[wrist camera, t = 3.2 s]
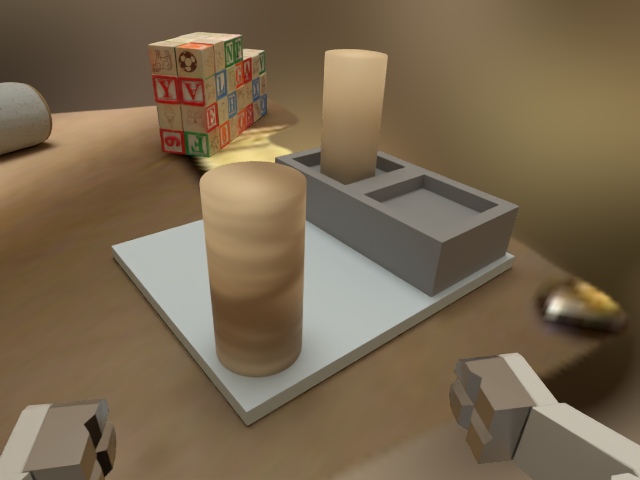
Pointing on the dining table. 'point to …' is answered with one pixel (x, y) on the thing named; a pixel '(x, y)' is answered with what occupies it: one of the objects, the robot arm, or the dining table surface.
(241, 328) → the beech post
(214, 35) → the stack of blocks
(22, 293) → the dining table surface
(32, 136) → the ceramic mug
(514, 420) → the robot arm
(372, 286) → the grey socket tray board
